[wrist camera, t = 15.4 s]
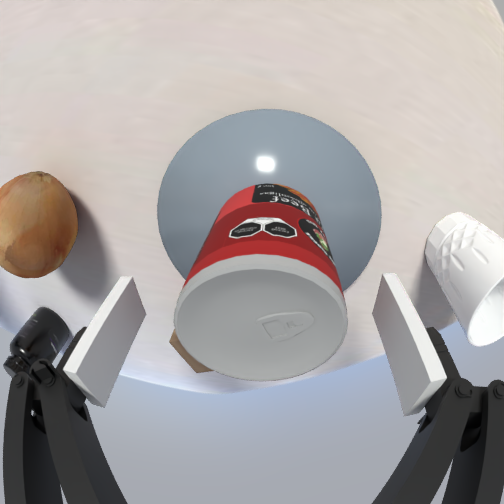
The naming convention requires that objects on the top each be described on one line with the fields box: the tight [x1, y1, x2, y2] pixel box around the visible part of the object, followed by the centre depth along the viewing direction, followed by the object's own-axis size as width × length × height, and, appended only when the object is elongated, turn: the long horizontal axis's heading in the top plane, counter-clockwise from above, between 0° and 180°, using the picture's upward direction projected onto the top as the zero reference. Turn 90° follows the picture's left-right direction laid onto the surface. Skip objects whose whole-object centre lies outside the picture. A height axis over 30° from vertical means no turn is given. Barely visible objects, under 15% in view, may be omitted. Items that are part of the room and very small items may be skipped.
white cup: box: [425, 212, 504, 346], centre depth 17 cm, size 8×8×10 cm
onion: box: [0, 171, 78, 278], centre depth 19 cm, size 10×10×10 cm
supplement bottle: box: [3, 307, 69, 378], centre depth 28 cm, size 7×7×12 cm
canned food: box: [174, 183, 348, 381], centre depth 16 cm, size 8×8×11 cm
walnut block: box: [169, 329, 214, 373], centre depth 26 cm, size 5×5×5 cm
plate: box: [157, 109, 382, 292], centre depth 22 cm, size 18×18×1 cm
